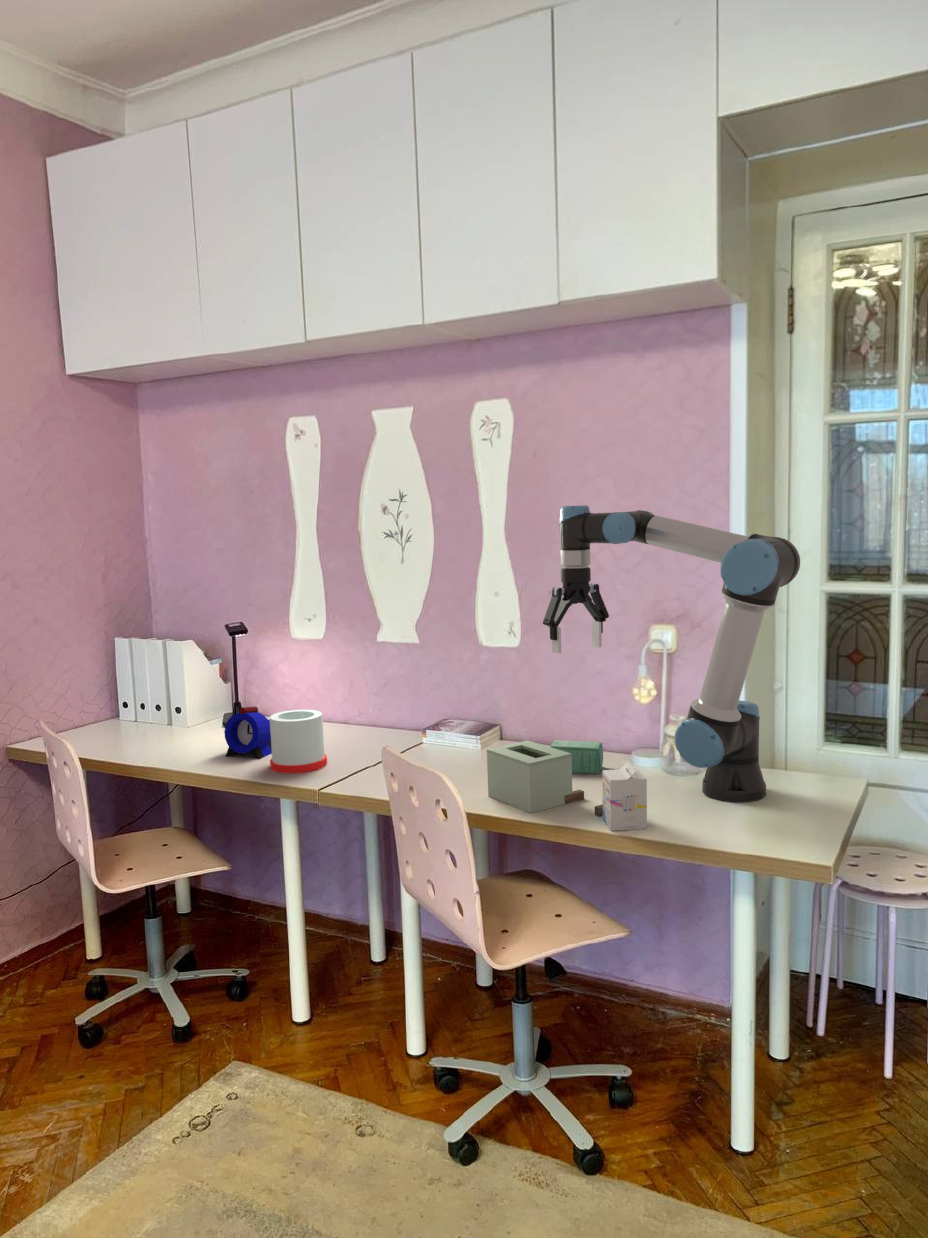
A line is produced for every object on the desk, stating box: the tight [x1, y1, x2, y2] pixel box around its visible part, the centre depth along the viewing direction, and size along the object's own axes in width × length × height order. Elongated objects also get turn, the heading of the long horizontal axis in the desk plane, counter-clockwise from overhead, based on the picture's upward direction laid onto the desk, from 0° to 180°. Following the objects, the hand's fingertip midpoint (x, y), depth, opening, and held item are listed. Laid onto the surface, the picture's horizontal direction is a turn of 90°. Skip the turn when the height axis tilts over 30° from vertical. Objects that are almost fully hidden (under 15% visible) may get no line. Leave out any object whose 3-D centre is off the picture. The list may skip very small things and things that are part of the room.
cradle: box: [564, 789, 603, 818], centre depth 227 cm, size 14×6×2 cm, turn 35°
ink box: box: [602, 761, 648, 832], centre depth 214 cm, size 9×8×13 cm
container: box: [269, 709, 328, 774], centre depth 271 cm, size 16×16×15 cm
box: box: [549, 739, 604, 775], centre depth 258 cm, size 7×14×8 cm, turn 75°
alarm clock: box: [224, 706, 272, 760], centre depth 286 cm, size 12×12×15 cm
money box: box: [486, 740, 573, 814], centre depth 234 cm, size 17×13×12 cm
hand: (577, 649), depth 243 cm, fingers open, 13 cm apart
